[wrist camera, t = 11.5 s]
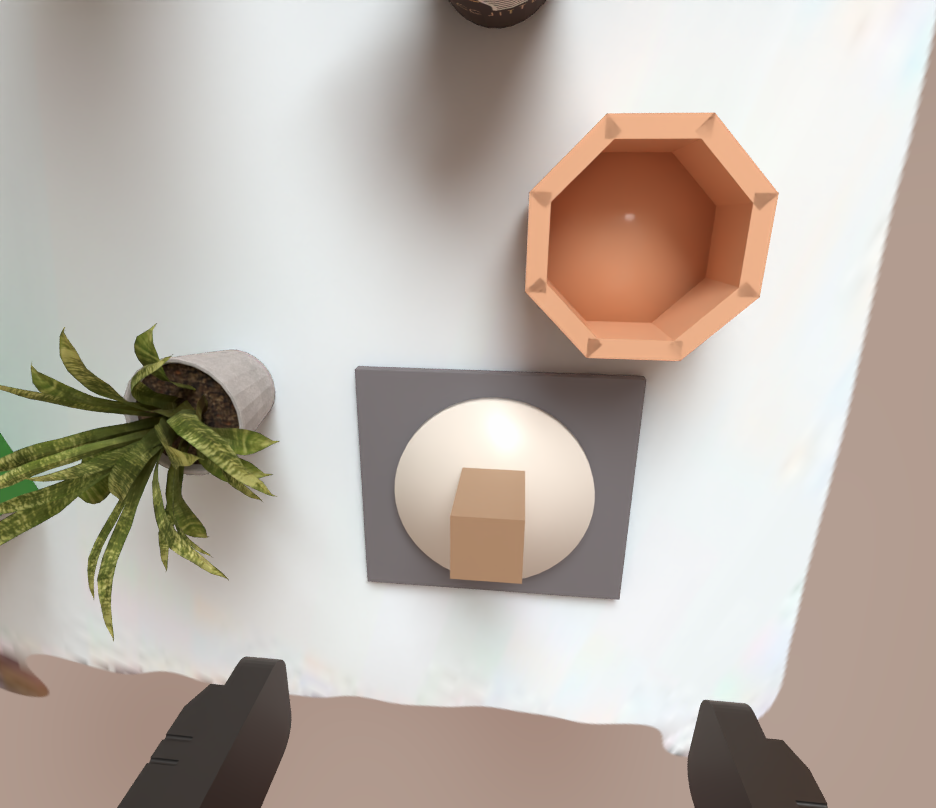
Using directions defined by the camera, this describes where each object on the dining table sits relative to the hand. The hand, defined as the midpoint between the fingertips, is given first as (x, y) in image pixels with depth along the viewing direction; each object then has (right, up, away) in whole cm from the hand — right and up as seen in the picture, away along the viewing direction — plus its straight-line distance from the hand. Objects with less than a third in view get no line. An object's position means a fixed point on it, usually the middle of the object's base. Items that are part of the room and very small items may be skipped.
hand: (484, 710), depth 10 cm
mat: (+1, 0, +26) cm, 26 cm away
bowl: (+9, +15, +20) cm, 27 cm away
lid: (+1, 0, +26) cm, 25 cm away
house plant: (-16, +6, +26) cm, 32 cm away
